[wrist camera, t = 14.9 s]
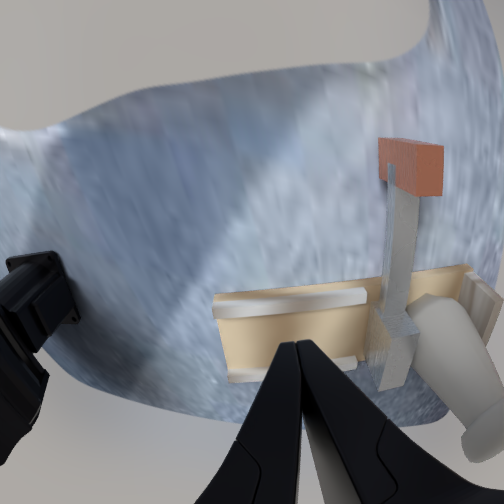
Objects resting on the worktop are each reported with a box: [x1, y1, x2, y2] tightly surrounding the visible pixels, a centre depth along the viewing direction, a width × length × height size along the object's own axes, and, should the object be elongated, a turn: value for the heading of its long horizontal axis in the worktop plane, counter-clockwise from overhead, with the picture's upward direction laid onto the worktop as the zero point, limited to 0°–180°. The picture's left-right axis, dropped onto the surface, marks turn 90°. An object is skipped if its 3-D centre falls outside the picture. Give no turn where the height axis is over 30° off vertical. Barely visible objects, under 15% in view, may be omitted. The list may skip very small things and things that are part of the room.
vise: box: [212, 264, 504, 383], centre depth 19 cm, size 20×7×5 cm, turn 96°
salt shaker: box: [405, 293, 504, 463], centre depth 14 cm, size 6×6×13 cm
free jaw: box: [363, 138, 444, 392], centre depth 16 cm, size 2×16×4 cm, turn 6°
